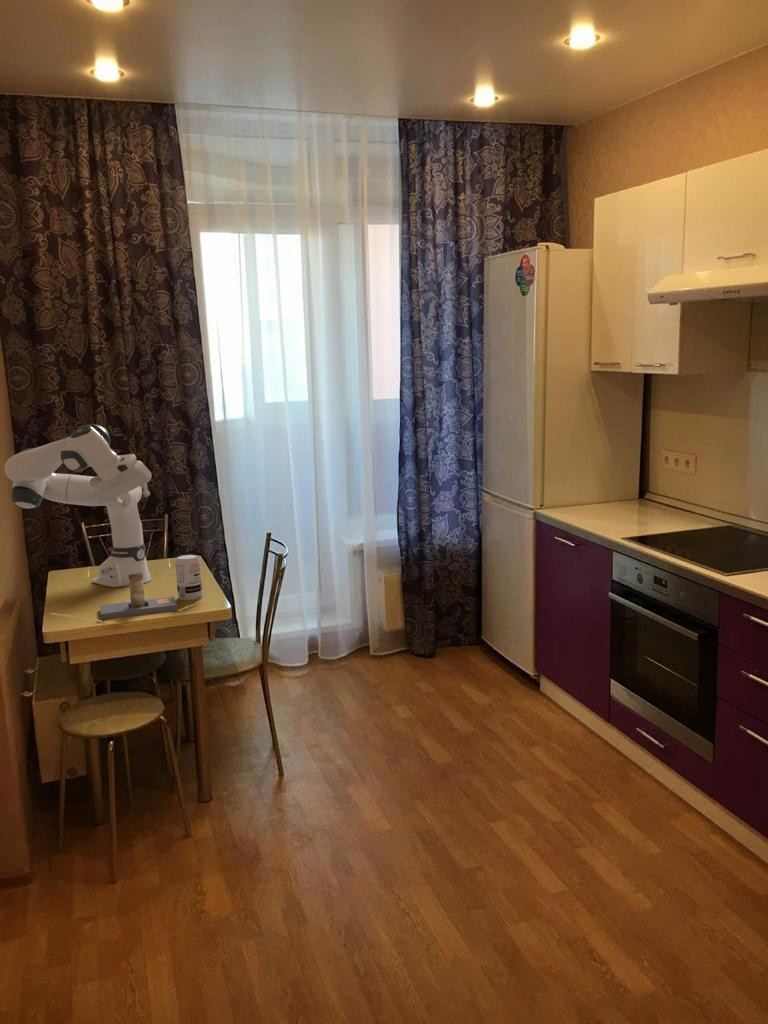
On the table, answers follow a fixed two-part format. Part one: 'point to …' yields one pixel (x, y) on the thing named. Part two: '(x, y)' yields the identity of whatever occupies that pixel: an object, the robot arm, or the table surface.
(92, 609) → the table surface
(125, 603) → the socket board
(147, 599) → the pad
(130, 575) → the maple peg
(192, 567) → the supplement can
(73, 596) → the table surface
